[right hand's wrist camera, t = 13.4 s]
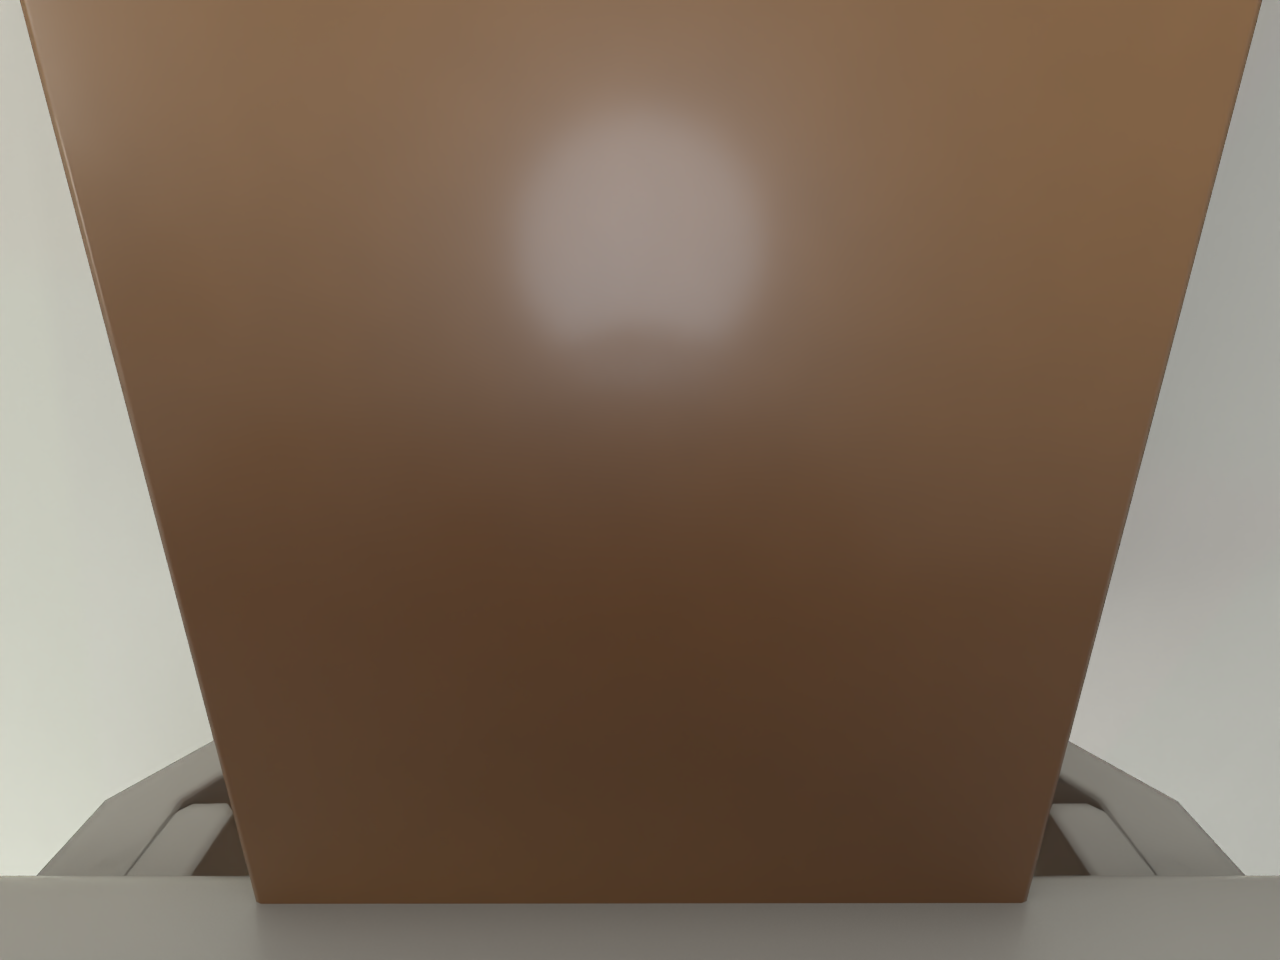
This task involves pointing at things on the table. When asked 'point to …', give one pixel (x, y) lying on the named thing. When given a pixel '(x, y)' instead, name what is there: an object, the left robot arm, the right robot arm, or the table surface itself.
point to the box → (641, 416)
